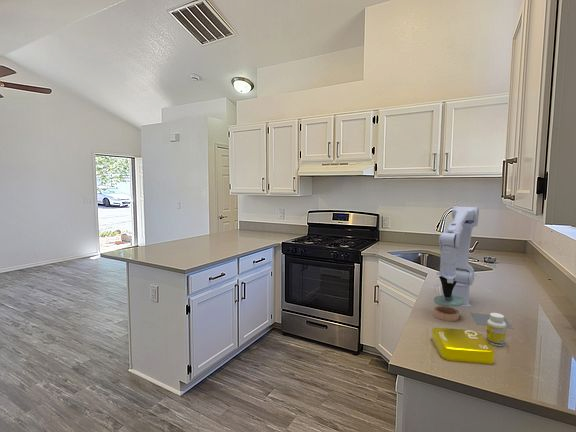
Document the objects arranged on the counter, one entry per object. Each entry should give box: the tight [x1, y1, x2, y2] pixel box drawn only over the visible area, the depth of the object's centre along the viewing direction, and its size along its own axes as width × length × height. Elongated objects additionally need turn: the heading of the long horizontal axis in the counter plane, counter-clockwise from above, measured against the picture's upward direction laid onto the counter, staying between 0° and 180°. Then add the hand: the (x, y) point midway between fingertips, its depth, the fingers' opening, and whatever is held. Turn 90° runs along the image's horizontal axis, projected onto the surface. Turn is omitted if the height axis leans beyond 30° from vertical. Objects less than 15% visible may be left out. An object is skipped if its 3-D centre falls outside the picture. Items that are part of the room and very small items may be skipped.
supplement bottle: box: [486, 312, 507, 347], centre depth 108 cm, size 5×5×10 cm
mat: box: [470, 312, 515, 330], centre depth 126 cm, size 12×12×1 cm
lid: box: [433, 294, 465, 308], centre depth 129 cm, size 11×11×6 cm
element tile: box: [431, 327, 495, 365], centre depth 104 cm, size 15×15×5 cm
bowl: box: [432, 305, 460, 322], centre depth 130 cm, size 9×9×3 cm
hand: (446, 295), depth 129 cm, fingers closed on lid, 3 cm apart
